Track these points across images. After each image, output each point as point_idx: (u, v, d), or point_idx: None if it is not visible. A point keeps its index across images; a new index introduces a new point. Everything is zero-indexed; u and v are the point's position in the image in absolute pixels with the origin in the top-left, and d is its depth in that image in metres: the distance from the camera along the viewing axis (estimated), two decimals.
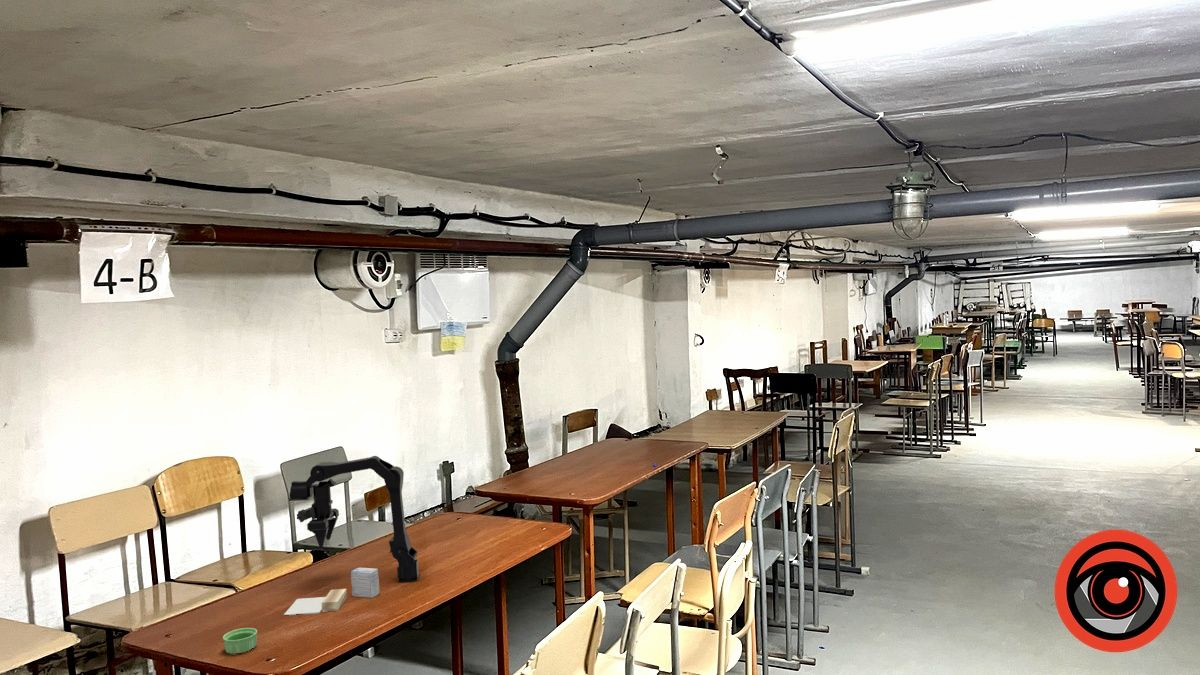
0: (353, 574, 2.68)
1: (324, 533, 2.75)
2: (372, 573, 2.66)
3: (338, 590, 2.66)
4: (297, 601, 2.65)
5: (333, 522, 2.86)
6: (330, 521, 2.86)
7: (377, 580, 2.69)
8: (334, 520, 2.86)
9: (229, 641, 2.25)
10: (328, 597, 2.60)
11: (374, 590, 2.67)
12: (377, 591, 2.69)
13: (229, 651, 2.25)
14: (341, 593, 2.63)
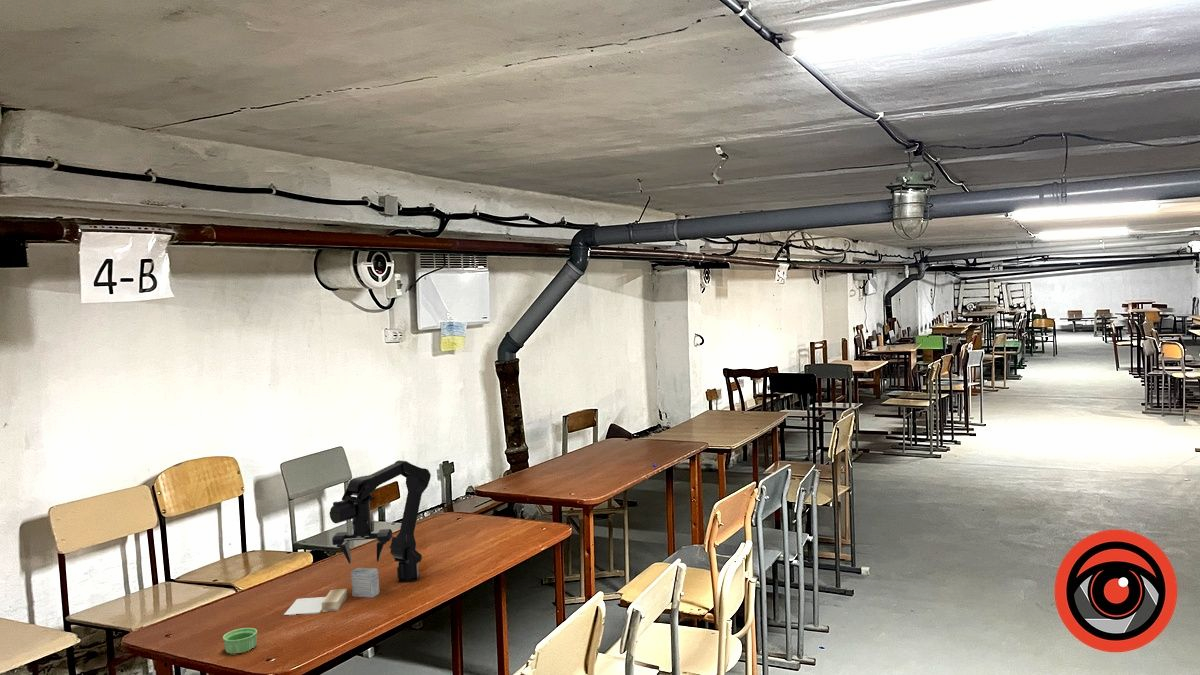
0: (353, 574, 2.68)
1: None
2: (372, 573, 2.66)
3: (338, 590, 2.66)
4: (297, 601, 2.65)
5: (377, 545, 2.67)
6: None
7: (377, 580, 2.69)
8: (377, 543, 2.66)
9: (229, 641, 2.25)
10: (328, 597, 2.60)
11: (374, 590, 2.67)
12: (377, 591, 2.69)
13: (229, 651, 2.25)
14: (341, 593, 2.63)
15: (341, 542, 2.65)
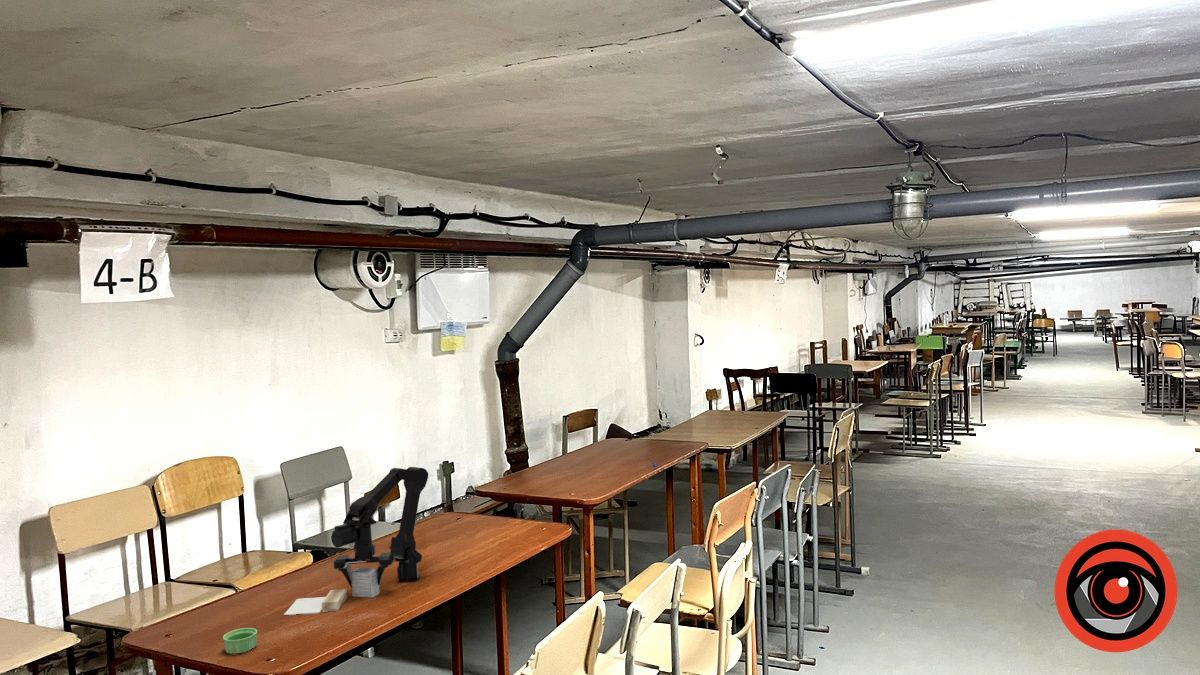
0: (353, 574, 2.68)
1: None
2: (372, 572, 2.66)
3: (338, 590, 2.66)
4: (297, 601, 2.65)
5: (378, 569, 2.67)
6: None
7: (377, 580, 2.69)
8: (378, 567, 2.67)
9: (229, 641, 2.25)
10: (328, 597, 2.60)
11: (374, 590, 2.67)
12: (377, 591, 2.69)
13: (229, 651, 2.25)
14: (341, 593, 2.63)
15: (342, 566, 2.65)
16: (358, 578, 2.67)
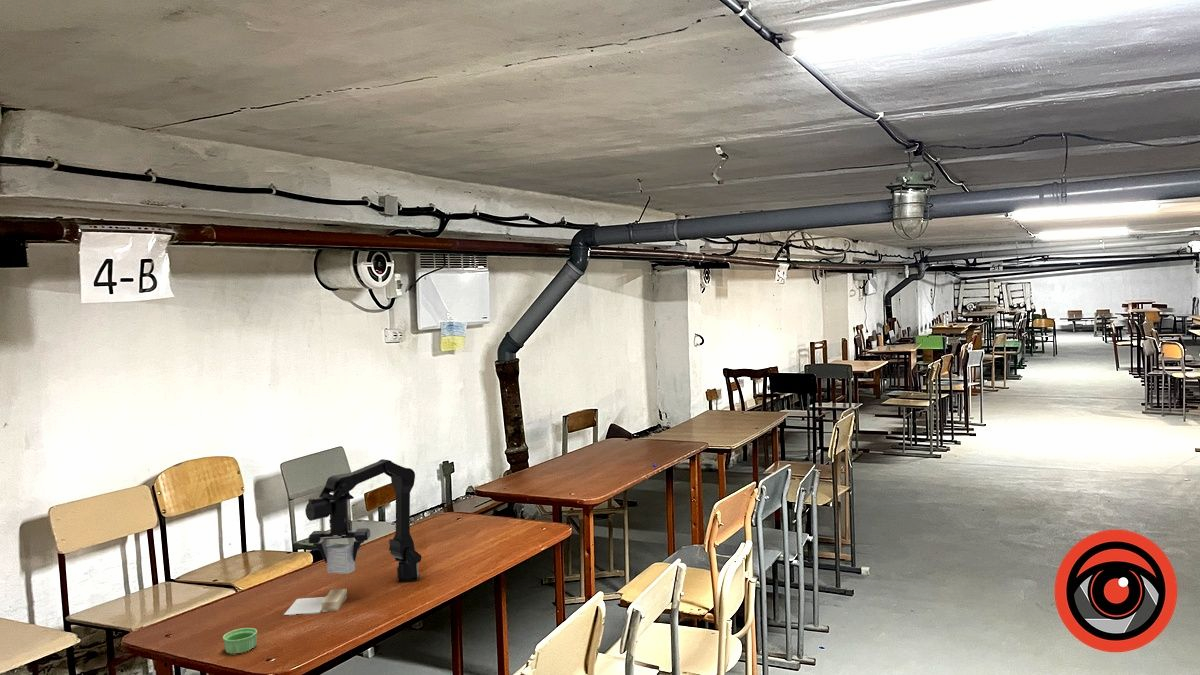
0: (328, 549, 2.63)
1: None
2: (348, 548, 2.62)
3: (338, 590, 2.66)
4: (297, 601, 2.65)
5: None
6: None
7: None
8: None
9: (229, 641, 2.25)
10: (328, 597, 2.60)
11: (349, 567, 2.62)
12: (353, 567, 2.64)
13: (229, 651, 2.25)
14: (341, 593, 2.63)
15: (317, 540, 2.60)
16: (333, 554, 2.62)
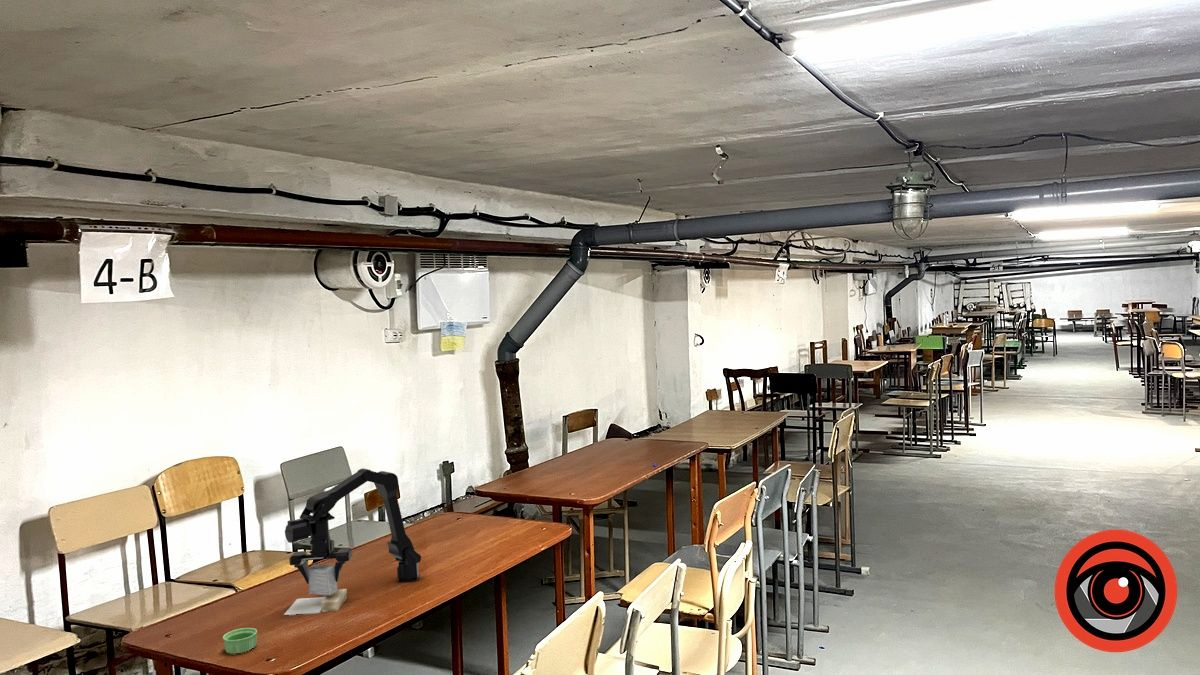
0: (309, 571, 2.60)
1: None
2: (330, 569, 2.58)
3: (338, 590, 2.66)
4: (297, 601, 2.65)
5: None
6: None
7: None
8: None
9: (229, 641, 2.25)
10: (328, 597, 2.60)
11: (331, 588, 2.59)
12: (335, 588, 2.61)
13: (229, 651, 2.25)
14: (341, 593, 2.63)
15: (298, 562, 2.57)
16: (315, 575, 2.59)
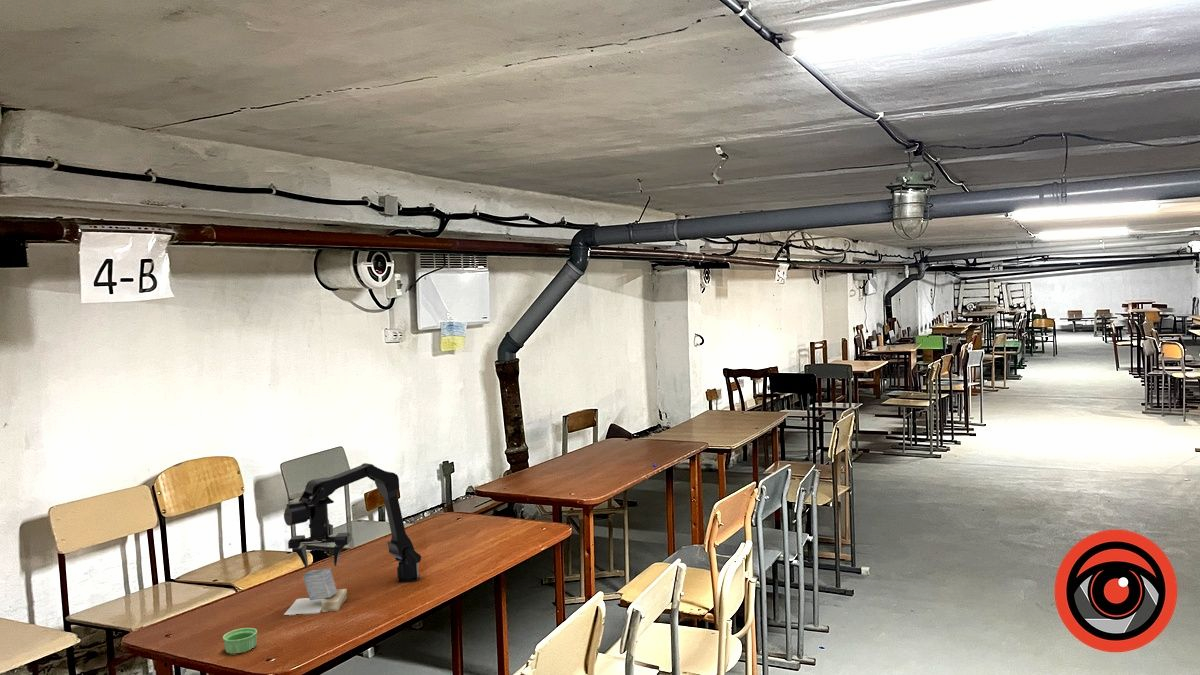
0: (305, 578, 2.60)
1: None
2: (324, 572, 2.58)
3: (338, 590, 2.66)
4: (297, 601, 2.65)
5: None
6: None
7: (331, 579, 2.61)
8: None
9: (229, 641, 2.25)
10: None
11: (329, 590, 2.59)
12: (334, 590, 2.61)
13: (229, 651, 2.25)
14: (341, 593, 2.63)
15: (297, 546, 2.57)
16: (311, 581, 2.59)
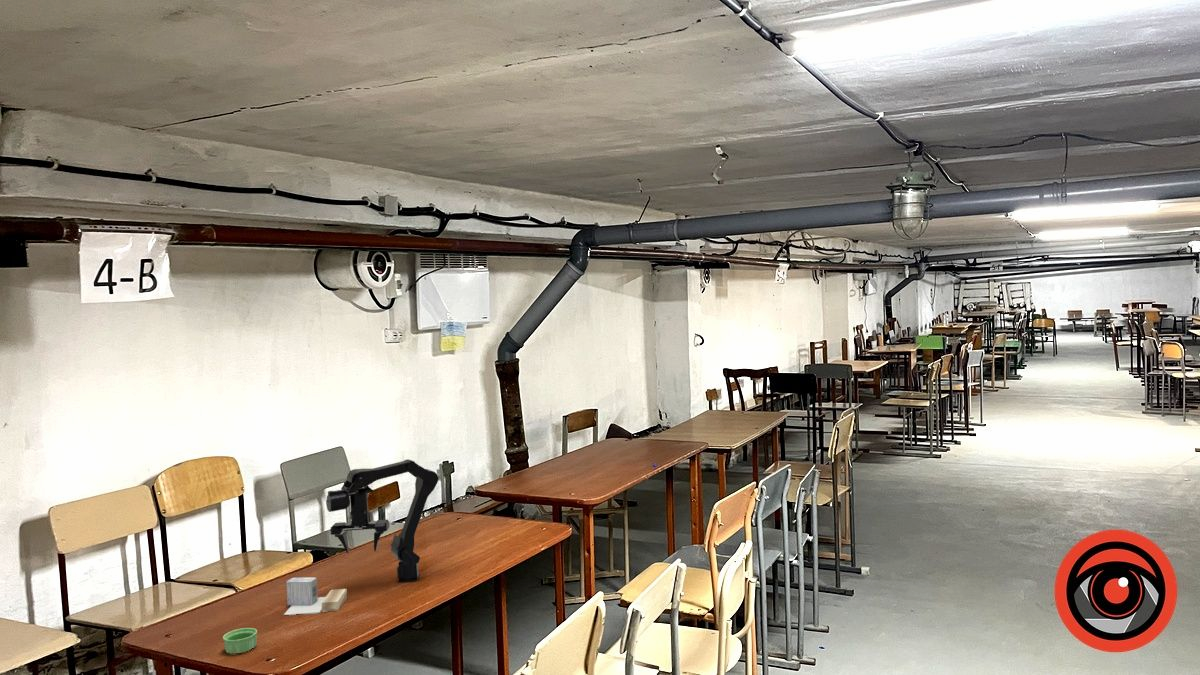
0: (289, 602, 2.61)
1: None
2: (288, 580, 2.62)
3: (338, 590, 2.66)
4: None
5: (374, 535, 2.72)
6: None
7: (301, 578, 2.64)
8: None
9: (229, 641, 2.25)
10: (328, 597, 2.60)
11: (306, 580, 2.62)
12: (311, 578, 2.63)
13: (229, 651, 2.25)
14: (341, 593, 2.63)
15: (339, 532, 2.71)
16: (292, 596, 2.61)
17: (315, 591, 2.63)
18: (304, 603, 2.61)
